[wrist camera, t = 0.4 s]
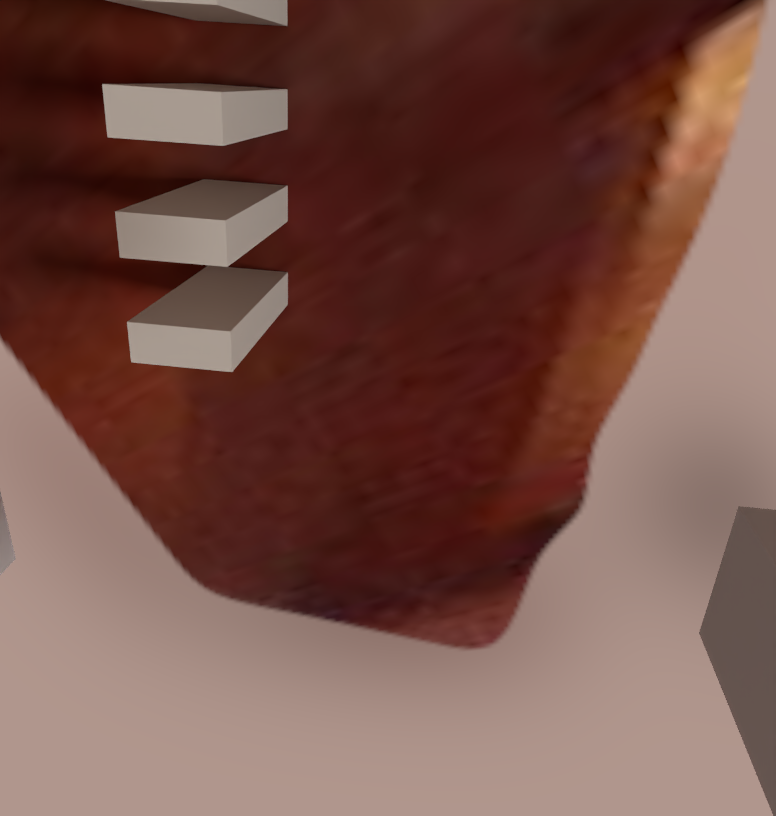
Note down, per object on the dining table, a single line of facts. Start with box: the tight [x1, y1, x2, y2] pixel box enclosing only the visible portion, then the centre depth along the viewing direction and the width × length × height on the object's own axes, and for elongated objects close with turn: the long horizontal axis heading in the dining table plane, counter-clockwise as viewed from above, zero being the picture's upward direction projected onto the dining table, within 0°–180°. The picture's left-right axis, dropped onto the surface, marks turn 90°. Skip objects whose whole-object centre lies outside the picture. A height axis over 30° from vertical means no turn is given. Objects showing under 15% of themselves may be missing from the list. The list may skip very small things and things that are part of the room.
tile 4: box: [102, 83, 287, 146], centre depth 30 cm, size 2×4×10 cm, turn 87°
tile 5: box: [115, 179, 288, 267], centre depth 32 cm, size 2×4×10 cm, turn 87°
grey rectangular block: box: [127, 265, 288, 372], centre depth 34 cm, size 2×4×10 cm, turn 87°
